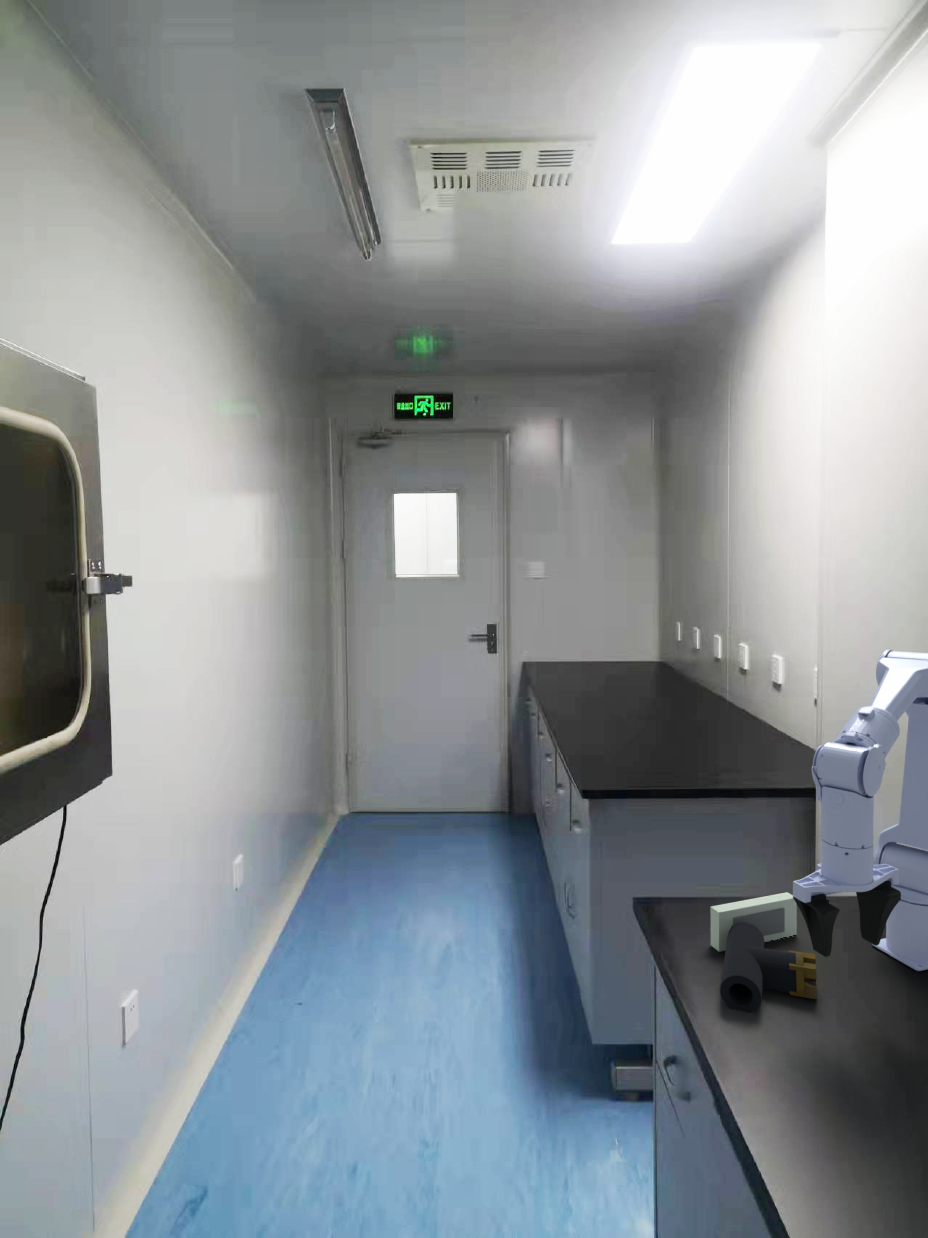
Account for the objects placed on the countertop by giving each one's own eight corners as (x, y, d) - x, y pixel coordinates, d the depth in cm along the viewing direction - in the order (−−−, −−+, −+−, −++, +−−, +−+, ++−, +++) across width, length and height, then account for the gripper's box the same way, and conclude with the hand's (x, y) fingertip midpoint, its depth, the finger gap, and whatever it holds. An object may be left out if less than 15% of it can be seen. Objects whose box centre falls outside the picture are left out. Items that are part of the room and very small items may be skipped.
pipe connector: (813, 930, 103) (818, 987, 89) (814, 967, 103) (819, 1029, 89) (727, 919, 108) (719, 971, 94) (728, 953, 108) (720, 1010, 94)
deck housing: (787, 929, 113) (787, 892, 113) (798, 936, 111) (798, 898, 111) (710, 945, 109) (710, 906, 109) (720, 952, 107) (720, 913, 107)
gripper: (866, 822, 95) (866, 922, 96) (775, 837, 91) (775, 941, 92) (914, 841, 89) (913, 948, 90) (817, 858, 84) (817, 970, 85)
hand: (846, 946), depth 90 cm, fingers open, 7 cm apart
